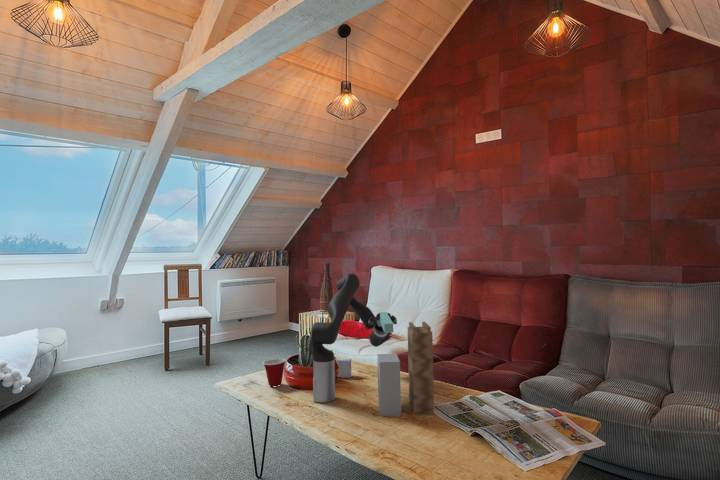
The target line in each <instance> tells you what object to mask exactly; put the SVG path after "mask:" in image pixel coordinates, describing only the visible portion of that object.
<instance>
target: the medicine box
mask: <svg viewBox="0 0 720 480" xmlns="http://www.w3.org/2000/svg"><path fill="white" fill-rule="evenodd" d="M336 359H337V362H338V366H339V377H341V378H342V379H343V378H345V379H346V378H351V377H352V358H336Z"/></svg>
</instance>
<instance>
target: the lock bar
mask: <svg viewBox="0 0 720 480" xmlns="http://www.w3.org/2000/svg"><path fill="white" fill-rule="evenodd" d="M378 313H380V320H379V321H380V323H381V326H382V328H383V330H384V333H389V334H390V333H394V324H393V322H392V321H391V319H390V317H389V315H388V314H387V313H388V312H387V311H379V312H378Z"/></svg>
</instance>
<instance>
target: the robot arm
mask: <svg viewBox="0 0 720 480" xmlns="http://www.w3.org/2000/svg"><path fill="white" fill-rule="evenodd" d="M360 283H361V281H360V279H359V277H358V275H357V274H355V273H348V274H346V275H345V276H343V277H342V278H340V279H339V280H338V281H336V287H337V290H338V291H337V292H336V293H335V294H334V295H333V296H332V298H331V299H330V301H329V303H328V306H327V313H328V316H329V318H330V319H331V321H330V322H317V321H316V322H314V323H313V324H312V325H311V330H310V339H311V341H310V342H311V353H312V367H313V368H312V369H313V370H312V371H313V374H312V375H313V379H312V390H313V391H312V396H313V397H312V400H313V401H314V402H315V403H323V404H324V403H326V404H327V403H330V402H331V403H332V402H333V401H334V400H335V399H336V384H335V383H336V381H335V380H336V378H335V353H334V351H332V350H330V349H328V348H326V347H325V346H324V345H332V344H335V342H336V340H337V339H338V335H339V332H340V329H341V326H342V323H343V321H344V318H345V317H346V313H347V312H348V309H349V307H351V308H352V310H353V311H354V312H355V313H356V314H357V316H358V317H359V319H360V321H361V322H362V324H363V325H364V328H365V329H366V330H371V329H372V331H371V333H370V334H369V338H368V339H369V343H370V344H371V345H372V347H375V348H377V347H380V346H381V345H383V344H384V343H386V342H388V341H389V340H390V338H391V335H390V333H384V330H383V328H382V326H381V323H380V321H379V320H380V313H379V312H378V313H377V314H376V315H374V313H373V311H372V310H371V309H370V308H369V307H368V306H367V305H365V304H363V303H361V302H360V301H358V300H357V299H356V298H355V297H354V295H355V294H356V293H357V290H359V288H360V286H361V285H360ZM387 314H388V315H389V317H390V319H391V321H392V322H393V325H398V320H397V319H398V318H397V317H396V316H395V315H393V314H392V315H391V313H390V312H387Z"/></svg>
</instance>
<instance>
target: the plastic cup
mask: <svg viewBox="0 0 720 480" xmlns="http://www.w3.org/2000/svg"><path fill="white" fill-rule="evenodd" d="M286 361H287V360H286V359H284V358H273V359H268V360H264V361H263V362H262V364H263V366H264V368H265V372H266V378H267V383H268V386H269V385H270V386H278V385H280V384H281V383H282V381H283V378H284V377H283V376H284V368H285V362H286ZM282 384H283V383H282ZM282 384H281V385H282Z"/></svg>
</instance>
